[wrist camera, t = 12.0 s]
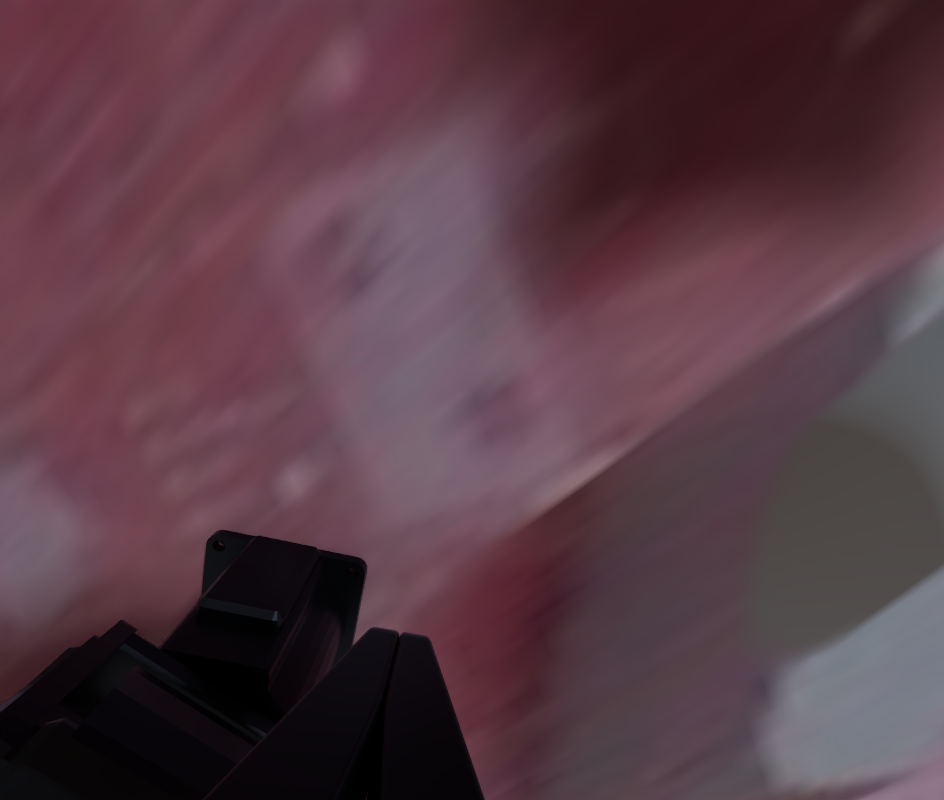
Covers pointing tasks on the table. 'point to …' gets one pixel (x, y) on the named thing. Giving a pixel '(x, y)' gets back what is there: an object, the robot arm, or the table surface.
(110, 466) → the table surface
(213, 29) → the table surface
